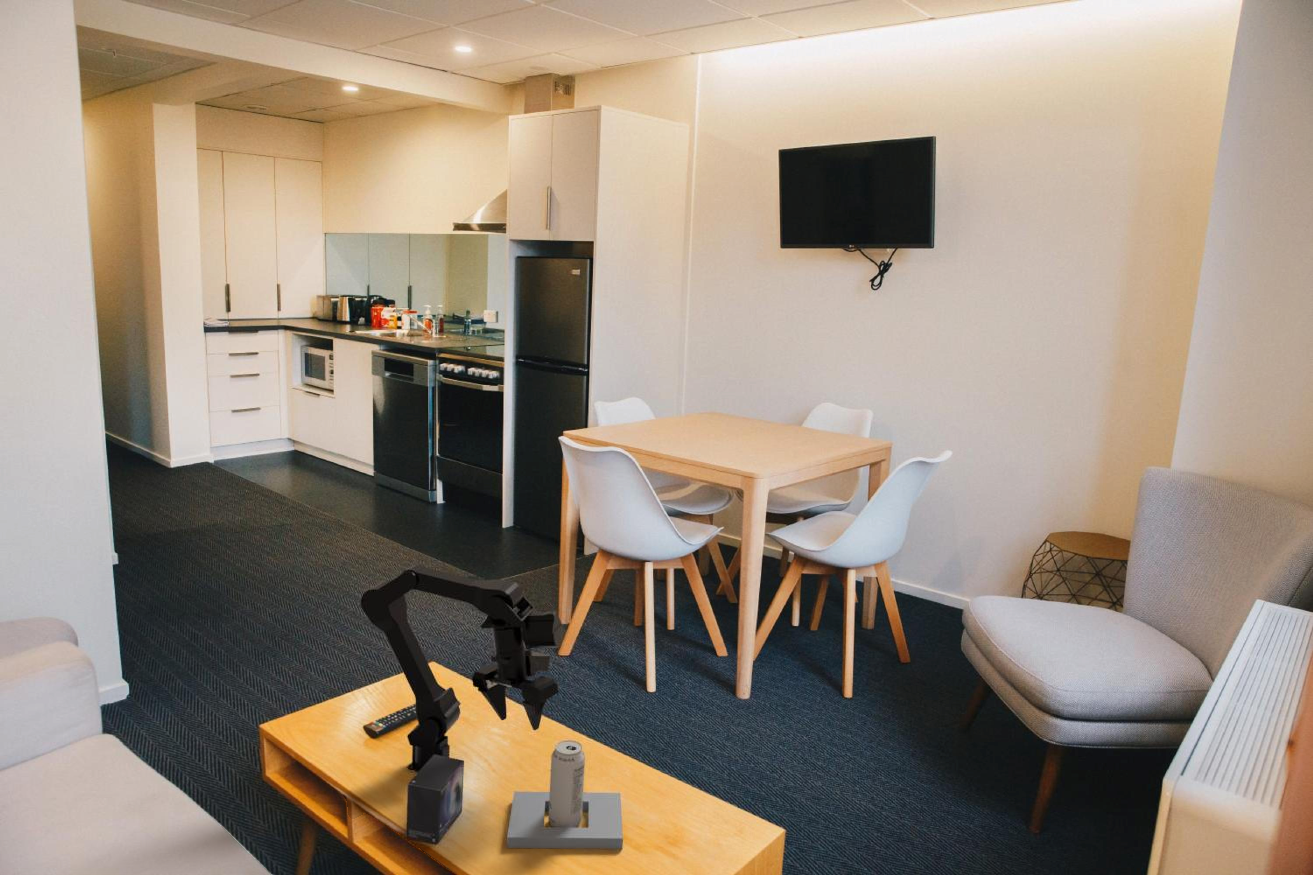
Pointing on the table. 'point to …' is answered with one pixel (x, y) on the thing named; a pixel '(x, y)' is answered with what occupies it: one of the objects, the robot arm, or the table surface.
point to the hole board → (533, 834)
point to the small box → (434, 799)
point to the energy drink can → (566, 784)
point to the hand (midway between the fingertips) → (519, 724)
